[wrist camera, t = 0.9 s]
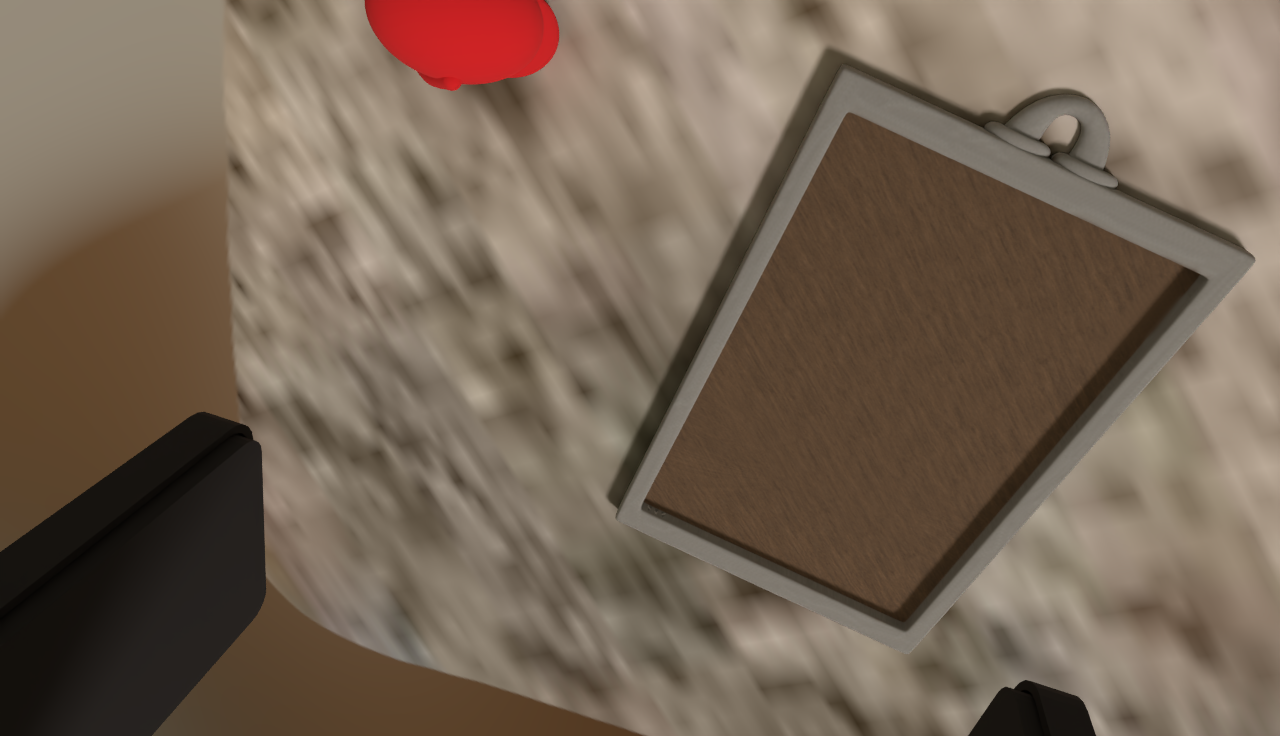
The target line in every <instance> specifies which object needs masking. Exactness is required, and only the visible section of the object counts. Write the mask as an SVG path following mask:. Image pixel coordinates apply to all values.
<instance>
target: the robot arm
mask: <svg viewBox="0 0 1280 736" xmlns="http://www.w3.org/2000/svg"><path fill="white" fill-rule="evenodd" d="M265 595H266V573H265V541H264V509H263V478H262V450H261V445H260V444H259V442H257V441H254V440H253V436H252V431H251V430H250V428H249V427H248V426H246V425H243V424H240V423H237V422H234V421H231V420H228V419H225V418H221V417H219V416H216V415H212V414H210V413H206V412H199V413H196V414H194V415H192V416H190V417H189V418H187V419H186V420H185V421H183V422H182V423H180V424H179V425H178V426H176V427H175V428H173V429H172V430H171V431H170V432H168V433H166V434H165V435H164V436H162V437H161V438H159V439H158V440H157V441H155V442H154V443H153V444H151V445H150V446H148V447H147V448H145V449H144V450H143V451H141V452H140V453H138V454H137V455H136V456H134V457H133V458H131V459H130V460H129V461H127V462H126V463H125V464H123V465H122V466H120V467H119V468H117V469H116V470H115V471H113V472H112V473H110V474H109V475H108V476H107V477H105V478H103V479H102V480H101V481H99V482H98V483H96V484H95V485H94V486H92V487H91V488H90V489H88V490H87V491H85V492H84V493H82V494H81V495H80V496H78V497H77V498H75V499H74V500H73V501H71V502H70V503H68V504H67V505H66V506H64V507H63V508H61V509H60V510H58V511H57V512H56V513H54V514H53V515H51V516H50V517H49V518H47V519H46V520H44V521H43V522H42V523H40V524H39V525H38V526H36V527H35V528H33V529H32V530H30V531H29V532H28V533H26V534H25V535H23V536H22V537H21V538H19V539H18V540H17V541H15V542H14V543H12V544H11V545H9V546H8V547H7V548H5V549H4V550H2V551H1V552H0V736H152V735H153V734H154V732H155V731H156V730H157V729H158V728H159V727H160V726H161V724H162V723H163V722H164V721H165V720H166V719H167V717H168V716H169V715H170V714H171V713H172V712H173V711H174V710H175V708H176V707H177V706H178V705H179V704H180V703H181V701H182V700H183V699H184V698H185V697H186V696H187V695H188V694H189V692H190V691H191V690H192V689H193V688H194V686H196V684H197V683H198V682H199V681H200V680H201V679H202V678H203V676H204V675H205V674H206V673H207V671H209V670H210V668H211V667H212V666H213V665H214V664H215V663H216V662H217V660H218V659H219V658H220V657H221V656H222V655H223V654H224V653H225V651H226V650H227V649H228V648H229V647H230V646H231V644H232V643H233V642H234V641H235V640H236V639H237V638H238V637H239V635H240V634H241V633H242V632H243V631H244V630H245V628H246V627H247V626H248V625H249V624H250V623H251V622H252V621H253V619H254V618H255V616H256V615H257V614H258V612H259V610H260V608H261V606H262V604H263V601H264V598H265ZM968 736H1096V734H1095V732H1094V729H1093V726H1092V723H1091V720H1090V717H1089V714H1088V711H1087V709H1086V707H1085V705H1084V702H1083V701H1082V700H1081V699H1080V698H1079V697H1078V696H1075V695H1071V694H1068V693H1065V692H1062V691H1059V690H1056V689H1053V688H1050V687H1047V686H1044V685H1041V684H1038V683H1035V682H1032V681H1027V680H1025V681H1022V682H1020V683H1019V684H1018V685H1017V686H1016V687H1015V688H1014V689H1012V688H1008V687H1004V688H1002V689H1001V690H1000V691H999V692H998V693H997V695H996V696H995V698H994V699H993V701H992V702H991V703H990V705H989V706H988V708H987V709H986V711H985V712H984V714H983V715H982V716H981V718H980V719H979V721H978V722H977V724H976V725H975V727H974V728H973V729H972V731H971V732H970V734H969V735H968Z"/></svg>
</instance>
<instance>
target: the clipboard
mask: <svg viewBox="0 0 1280 736" xmlns="http://www.w3.org/2000/svg"><path fill="white" fill-rule="evenodd" d="M1062 115H1070V116H1073V117H1075V118H1076V119H1078V120H1079V122H1080V124H1081V133H1080V136H1079V138H1078V140H1077V142H1076V144H1075V146H1074V147H1073V149H1072V150H1071V152H1070V153H1069V154H1066V153H1055V154H1054V155H1052V157H1051V159H1050V158H1048V157H1049V156H1050V153H1051V152H1050V149H1049V147H1048V146H1047V145H1046V144H1044V143H1042V142H1040V141H1039V139H1040V138H1041V136H1042V135H1043V133H1044V132H1045V130H1046V129H1047V128H1048V126H1049V125H1050V124H1051V123H1052V122H1053V121H1054V120H1055V119H1056V118H1058V117H1059V116H1062ZM1109 147H1110V132H1109V126H1108V123H1107V120H1106V118H1105V116H1104V114H1103V112H1102V111H1101V110H1100V109H1099V107H1098V106H1097V105H1096V104H1095V103H1093V102H1092V101H1090V100H1089V99H1087V98H1084V97H1081V96H1078V95H1069V94H1061V95H1054V96H1049V97H1046V98H1043V99H1040V100H1037V101H1035V102H1034V103H1032V104H1030V105H1028V106H1027V107H1025V108H1024V109H1022V110H1021V111H1020V112H1018V113H1017V114H1016V115H1014V116H1013V117H1012V118H1011V119H1010V120H1009V121H1008V122H1007V123H1006V124H1005V125H1004V124H1002V123H999V122H994V121H993V122H988V123H987V124H986V125H985V126H984V128H983V127H981V126H978V125H976V124H974V123H972V122H970V121H968V120H965V119H963V118H961V117H959V116H957V115H955V114H952V113H950V112H948V111H946V110H944V109H942V108H940V107H937V106H935V105H933V104H931V103H929V102H927V101H924V100H922V99H920V98H918V97H916V96H914V95H911V94H909V93H907V92H905V91H903V90H901V89H899V88H896V87H894V86H892V85H890V84H888V83H886V82H883V81H881V80H879V79H877V78H875V77H873V76H870V75H868V74H866V73H864V72H862V71H860V70H857V69H855V68H853V67H851V66H848V65H845V64H843V65H841V66H840V68H839V70H838V71H837V73H836V75H835V77H834V79H833V81H832V83H831V85H830V87H829V89H828V91H827V93H826V95H825V97H824V99H823V101H822V103H821V105H820V107H819V109H818V111H817V113H816V115H815V117H814V119H813V121H812V123H811V125H810V127H809V129H808V131H807V133H806V135H805V137H804V139H803V141H802V143H801V145H800V147H799V149H798V151H797V153H796V155H795V157H794V159H793V161H792V163H791V165H790V167H789V169H788V171H787V173H786V175H785V177H784V179H783V181H782V183H781V185H780V187H779V188H778V190H777V192H776V194H775V196H774V198H773V200H772V202H771V204H770V206H769V208H768V210H767V212H766V214H765V216H764V218H763V220H762V222H761V224H760V226H759V228H758V230H757V232H756V234H755V236H754V238H753V240H752V242H751V244H750V246H749V248H748V250H747V252H746V254H745V256H744V258H743V260H742V262H741V264H740V266H739V268H738V270H737V272H736V274H735V276H734V278H733V280H732V282H731V284H730V286H729V288H728V290H727V292H726V294H725V296H724V298H723V300H722V302H721V304H720V306H719V308H718V310H717V312H716V314H715V316H714V318H713V320H712V322H711V324H710V326H709V328H708V330H707V332H706V334H705V336H704V338H703V340H702V342H701V344H700V346H699V348H698V350H697V352H696V354H695V356H694V358H693V360H692V362H691V364H690V366H689V368H688V370H687V372H686V374H685V376H684V378H683V380H682V382H681V384H680V386H679V388H678V390H677V392H676V394H675V396H674V398H673V400H672V402H671V403H670V405H669V407H668V409H667V411H666V413H665V415H664V417H663V419H662V421H661V423H660V425H659V427H658V429H657V431H656V433H655V435H654V437H653V439H652V441H651V443H650V445H649V447H648V449H647V451H646V453H645V455H644V457H643V459H642V461H641V463H640V465H639V467H638V469H637V471H636V473H635V475H634V477H633V479H632V481H631V483H630V485H629V487H628V489H627V491H626V493H625V495H624V497H623V499H622V501H621V503H620V506H619V508H618V511H617V513H616V520H617V521H619V522H621V523H623V524H625V525H627V526H629V527H632V528H634V529H636V530H638V531H640V532H642V533H645V534H647V535H649V536H651V537H653V538H655V539H658V540H660V541H662V542H664V543H666V544H668V545H670V546H673V547H675V548H677V549H679V550H681V551H683V552H686V553H688V554H690V555H692V556H694V557H696V558H699V559H701V560H703V561H705V562H707V563H709V564H712V565H714V566H716V567H718V568H720V569H722V570H724V571H727V572H729V573H731V574H733V575H735V576H737V577H740V578H742V579H744V580H746V581H748V582H750V583H753V584H755V585H757V586H759V587H761V588H763V589H766V590H768V591H770V592H772V593H774V594H776V595H778V596H781V597H783V598H785V599H787V600H789V601H791V602H794V603H796V604H798V605H800V606H802V607H804V608H807V609H809V610H811V611H813V612H815V613H817V614H820V615H822V616H824V617H826V618H828V619H830V620H832V621H835V622H837V623H839V624H841V625H843V626H845V627H848V628H850V629H852V630H854V631H856V632H858V633H861V634H863V635H865V636H867V637H869V638H871V639H874V640H876V641H878V642H880V643H882V644H884V645H886V646H889V647H891V648H893V649H895V650H897V651H900V652H902V653H905V654H909V653H910V652H911V651H912V650H913V649H914V648H915V647H916V646H917V645H918V644H919V643H920V641H921V640H922V639H923V638H924V637H925V636H926V635H927V634H928V632H929V631H930V630H931V629H932V628H933V627H934V626H935V624H936V623H937V622H938V621H939V620H940V619H941V618H942V617H943V615H944V614H945V613H946V612H947V611H948V610H949V609H950V608H951V606H952V605H953V604H954V603H955V602H956V601H957V600H958V598H959V597H960V596H961V595H962V594H963V593H964V592H965V591H966V589H967V588H968V587H969V586H970V585H971V584H972V583H973V582H974V580H975V579H976V578H977V577H978V576H979V575H980V574H981V572H982V571H983V570H984V569H985V568H986V567H987V566H988V565H989V563H990V562H991V561H992V560H993V559H994V558H995V557H996V555H997V554H998V553H999V552H1000V551H1001V550H1002V549H1003V548H1004V546H1005V545H1006V544H1007V543H1008V542H1009V541H1010V540H1011V539H1012V537H1013V536H1014V535H1015V534H1016V533H1017V532H1018V531H1019V529H1020V528H1021V527H1022V526H1023V525H1024V524H1025V523H1026V522H1027V520H1028V519H1029V518H1030V517H1031V516H1032V515H1033V514H1034V513H1035V511H1036V510H1037V509H1038V508H1039V507H1040V506H1041V505H1042V503H1043V502H1044V501H1045V500H1046V499H1047V498H1048V497H1049V496H1050V494H1051V493H1052V492H1053V491H1054V490H1055V489H1056V488H1057V486H1058V485H1059V484H1060V483H1061V482H1062V481H1063V480H1064V479H1065V477H1066V476H1067V475H1068V474H1069V473H1070V472H1071V471H1072V470H1073V468H1074V467H1075V466H1076V465H1077V464H1078V463H1079V462H1080V460H1081V459H1082V458H1083V457H1084V456H1085V455H1086V454H1087V453H1088V451H1089V450H1090V449H1091V448H1092V447H1093V446H1094V445H1095V444H1096V442H1097V441H1098V440H1099V439H1100V438H1101V437H1102V436H1103V434H1104V433H1105V432H1106V431H1107V430H1108V429H1109V428H1110V427H1111V425H1112V424H1113V423H1114V422H1115V421H1116V420H1117V419H1118V417H1119V416H1120V415H1121V414H1122V413H1123V412H1124V411H1125V410H1126V408H1127V407H1128V406H1129V405H1130V404H1131V403H1132V402H1133V401H1134V399H1135V398H1136V397H1137V396H1138V395H1139V394H1140V393H1141V391H1142V390H1143V389H1144V388H1145V387H1146V386H1147V385H1148V384H1149V382H1150V381H1151V380H1152V379H1153V378H1154V377H1155V376H1156V375H1157V373H1158V372H1159V371H1160V370H1161V369H1162V368H1163V367H1164V365H1165V364H1166V363H1167V362H1168V361H1169V360H1170V359H1171V358H1172V356H1173V355H1174V354H1175V353H1176V352H1177V351H1178V350H1179V349H1180V347H1181V346H1182V345H1183V344H1184V343H1185V342H1186V341H1187V339H1188V338H1189V337H1190V336H1191V335H1192V334H1193V333H1194V332H1195V330H1196V329H1197V328H1198V327H1199V326H1200V325H1201V324H1202V322H1203V321H1204V320H1205V319H1206V318H1207V317H1208V316H1209V315H1210V313H1211V312H1212V311H1213V310H1214V309H1215V308H1216V307H1217V306H1218V304H1219V303H1220V302H1221V301H1222V300H1223V299H1224V298H1225V296H1226V295H1227V294H1228V293H1229V292H1230V291H1231V290H1232V289H1233V287H1234V286H1235V285H1236V284H1237V283H1238V282H1239V281H1240V279H1241V278H1242V277H1243V276H1244V275H1245V274H1246V273H1247V271H1248V270H1249V269H1250V268H1251V266H1252V265H1253V264H1254V262H1255V257H1254V256H1253V255H1252V254H1251V253H1249V252H1248V251H1246V250H1245V249H1243V248H1241V247H1239V246H1237V245H1235V244H1233V243H1231V242H1229V241H1227V240H1224V239H1222V238H1220V237H1218V236H1216V235H1214V234H1211V233H1209V232H1207V231H1205V230H1203V229H1201V228H1199V227H1196V226H1194V225H1192V224H1190V223H1188V222H1186V221H1183V220H1181V219H1179V218H1177V217H1175V216H1173V215H1170V214H1168V213H1166V212H1164V211H1162V210H1160V209H1157V208H1155V207H1153V206H1151V205H1149V204H1147V203H1145V202H1142V201H1140V200H1138V199H1136V198H1134V197H1132V196H1129V195H1127V194H1125V193H1123V192H1121V191H1119V190H1116V189H1115V188H1116V187H1117V185H1118V181H1117V179H1116V178H1115V177H1114V176H1113V175H1111V174H1109V173H1107V172H1105V171H1103V170H1104V166H1105V163H1106V160H1107V156H1108V151H1109Z"/></svg>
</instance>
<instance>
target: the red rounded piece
mask: <svg viewBox="0 0 1280 736" xmlns="http://www.w3.org/2000/svg"><path fill="white" fill-rule="evenodd" d="M365 9H366V14H367V17H368V20H369V23H370V25H371V27H372V29H373V31H374V33H375V35H376V36H377V38H378V39H379V40H380V42H381V43H382V44H383V45H384V46H385V48H386V49H387V50H388V51H389V52H390V53H391V54H393V55H394V56H395V57H396V58H397V59H399V60H400V61H401V62H403V63H404V64H406V65H407V66H409V67H411V68H412V69H414V70H416V71H417V72H418V73H419V75H420V76H421V77H422V78H423V80H424V81H425V82H427V83H428V84H429V85H431V86H434V87H437V88H440V89H446V90H451V91H453V90H457V89H458V88H460V86H461V84H485V83H491V82H495V81H499V80H502V79H505V78H517V77H523V76H527V75H530V74H533V73H535V72H537V71H538V70H540V69H542V68H543V67H544V66H545V65H546V64H547V63H548V62H549V61H550V60H551V58H552V57H553V55H554V54H555V52H556V49H557V46H558V42H559V27H558V23H557V20H556V17H555V15H554V13H553V11H552V9H551V8H550V6H549V5H548V4H547V3H546V2H545V1H544V0H365Z"/></svg>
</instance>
